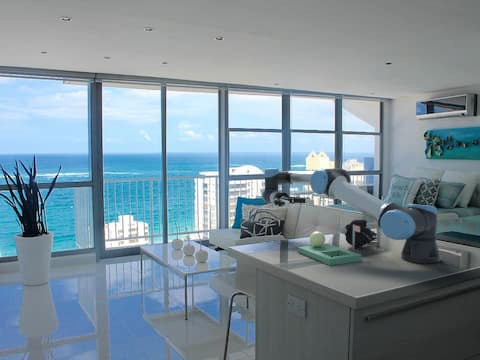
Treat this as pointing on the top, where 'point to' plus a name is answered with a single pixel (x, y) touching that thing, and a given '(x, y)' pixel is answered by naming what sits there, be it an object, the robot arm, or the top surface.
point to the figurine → (359, 233)
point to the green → (330, 254)
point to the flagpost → (355, 228)
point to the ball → (317, 239)
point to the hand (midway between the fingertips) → (301, 203)
